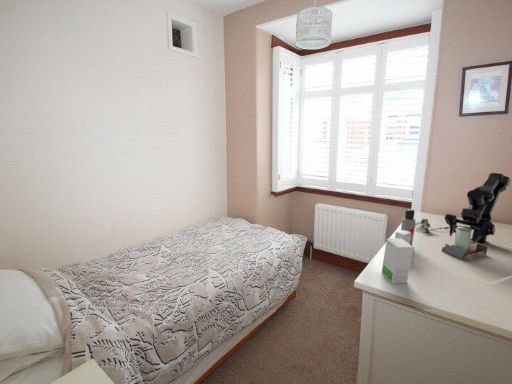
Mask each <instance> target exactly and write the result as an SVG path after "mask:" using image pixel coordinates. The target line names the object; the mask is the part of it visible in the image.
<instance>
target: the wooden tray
mask: <svg viewBox="0 0 512 384" xmlns="http://www.w3.org/2000/svg"><path fill="white" fill-rule="evenodd" d="M450 245H451V246H453V247H454V244H450ZM488 249H489V247H488V245H485V244H480V243H478V244H477V248H476V253H474V254H468V253H467V255H466V256H464V258H463V259H461V258H458V257H456V256H454V255H451V254H449V253H447V252H444V250H445V246H443V247H441V252H443V253H445V254H447V255H449V256H452V257H454V258H457V259H459V260H462V261H464V262H466V261H470V260H475V259H478V258H481V257H485V256H487V252H488Z"/></svg>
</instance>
